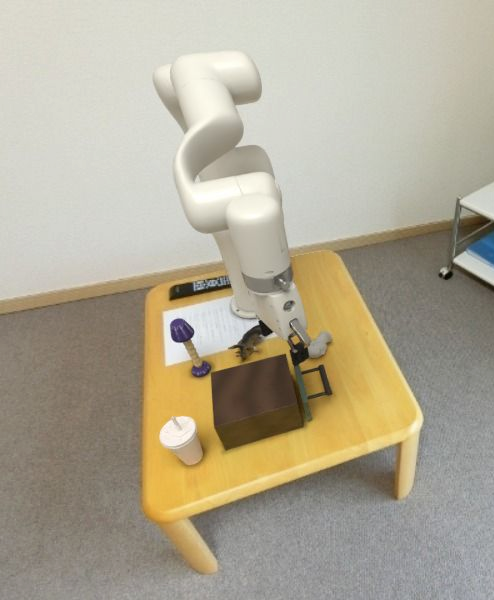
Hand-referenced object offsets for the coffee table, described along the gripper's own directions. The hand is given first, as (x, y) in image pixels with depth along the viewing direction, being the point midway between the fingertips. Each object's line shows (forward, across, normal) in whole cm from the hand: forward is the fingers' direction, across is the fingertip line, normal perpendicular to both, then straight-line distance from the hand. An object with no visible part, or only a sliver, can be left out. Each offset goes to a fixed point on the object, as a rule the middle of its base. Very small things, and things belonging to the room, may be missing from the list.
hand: (285, 346), depth 78 cm
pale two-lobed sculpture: (+23, +12, -14) cm, 29 cm away
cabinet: (+22, +7, +6) cm, 24 cm away
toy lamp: (+23, +26, +10) cm, 36 cm away
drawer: (+22, +5, +1) cm, 22 cm away
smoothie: (+23, +7, +21) cm, 32 cm away
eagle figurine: (+23, +24, -2) cm, 33 cm away
